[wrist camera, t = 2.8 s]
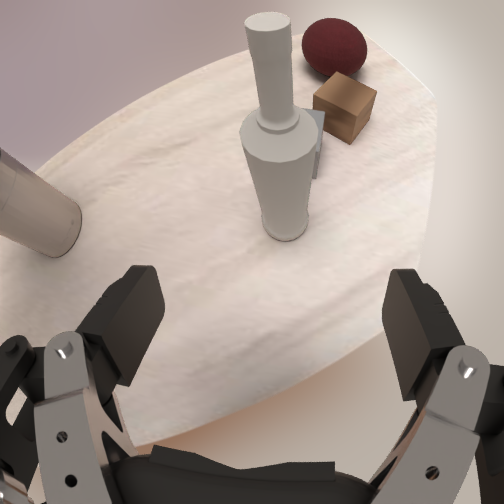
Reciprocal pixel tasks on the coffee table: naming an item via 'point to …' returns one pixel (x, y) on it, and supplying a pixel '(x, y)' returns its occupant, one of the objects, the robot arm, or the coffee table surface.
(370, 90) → the walnut cube
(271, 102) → the bottle
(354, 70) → the decorative ball
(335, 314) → the coffee table surface
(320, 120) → the slate grey cube
